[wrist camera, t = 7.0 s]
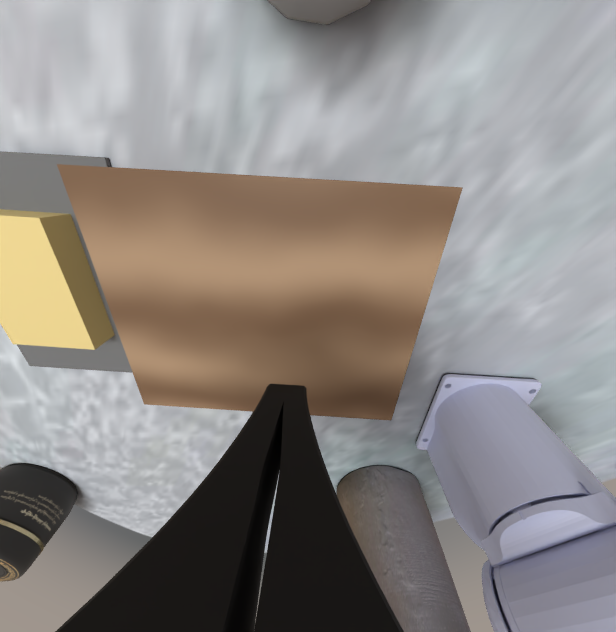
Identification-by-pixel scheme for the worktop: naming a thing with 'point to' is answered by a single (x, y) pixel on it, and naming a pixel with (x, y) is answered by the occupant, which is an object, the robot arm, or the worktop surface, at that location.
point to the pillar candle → (402, 548)
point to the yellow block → (48, 283)
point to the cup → (317, 9)
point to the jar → (30, 514)
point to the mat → (51, 196)
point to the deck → (263, 282)
